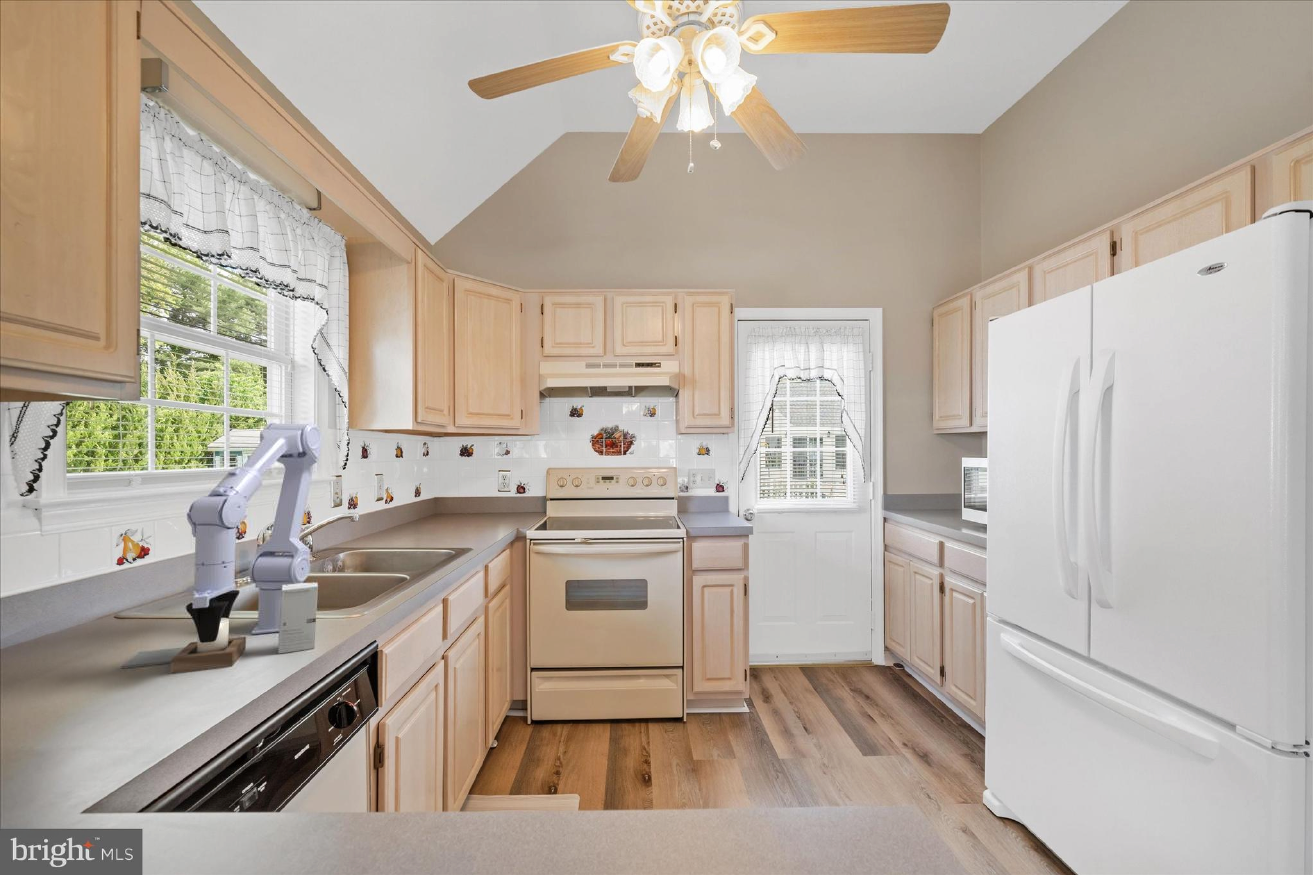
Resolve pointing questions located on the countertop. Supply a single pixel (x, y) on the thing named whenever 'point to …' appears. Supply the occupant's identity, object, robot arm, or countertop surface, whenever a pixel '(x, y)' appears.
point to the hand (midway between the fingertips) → (213, 636)
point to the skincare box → (297, 617)
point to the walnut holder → (208, 657)
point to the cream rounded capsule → (221, 639)
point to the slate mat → (152, 657)
